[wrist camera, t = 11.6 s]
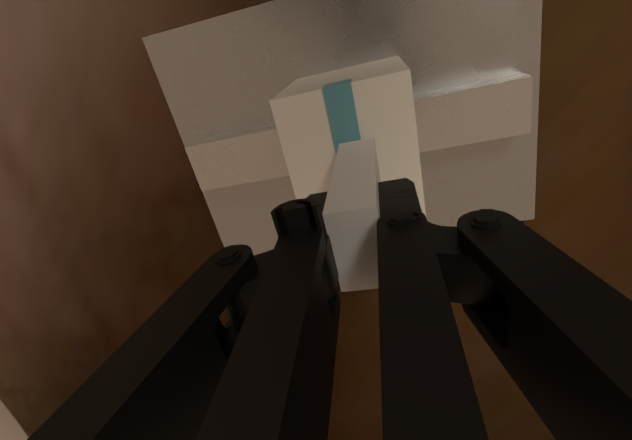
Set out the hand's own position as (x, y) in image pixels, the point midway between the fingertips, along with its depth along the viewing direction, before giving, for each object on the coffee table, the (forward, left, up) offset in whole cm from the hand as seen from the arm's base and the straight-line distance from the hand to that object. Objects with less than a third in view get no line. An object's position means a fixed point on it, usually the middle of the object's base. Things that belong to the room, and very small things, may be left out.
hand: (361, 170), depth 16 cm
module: (0, 0, -8) cm, 8 cm away
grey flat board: (0, -1, -9) cm, 9 cm away
